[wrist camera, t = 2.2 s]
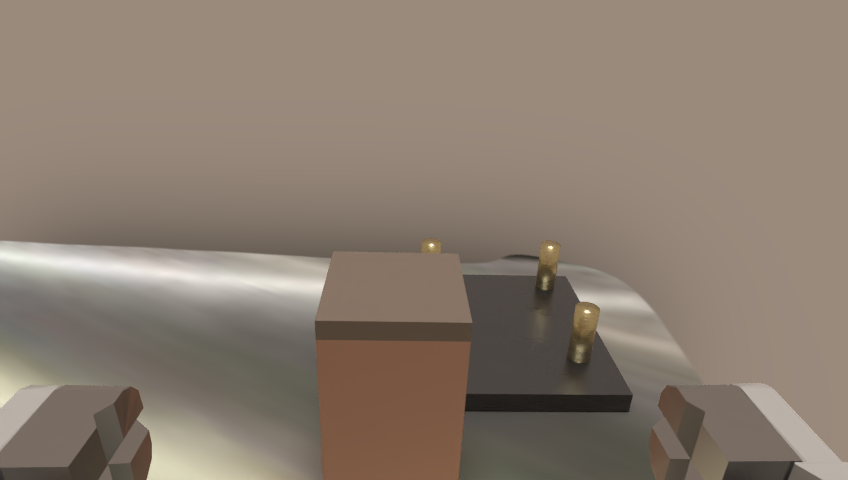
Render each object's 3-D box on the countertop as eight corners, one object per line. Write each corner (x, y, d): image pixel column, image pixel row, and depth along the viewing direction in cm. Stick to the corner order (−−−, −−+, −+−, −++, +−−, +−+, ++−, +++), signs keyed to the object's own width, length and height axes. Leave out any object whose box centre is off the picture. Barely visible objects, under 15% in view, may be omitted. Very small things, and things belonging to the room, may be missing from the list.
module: (326, 536, 23) (314, 320, 19) (339, 440, 28) (333, 251, 24) (453, 535, 24) (472, 322, 19) (444, 441, 29) (458, 253, 24)
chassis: (330, 409, 30) (327, 339, 28) (351, 286, 43) (350, 231, 41) (628, 411, 31) (645, 343, 29) (563, 289, 44) (572, 236, 42)
